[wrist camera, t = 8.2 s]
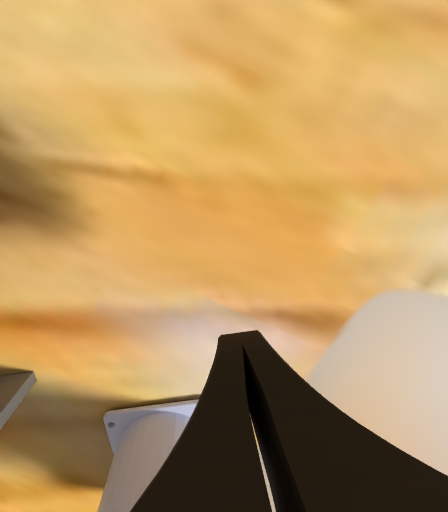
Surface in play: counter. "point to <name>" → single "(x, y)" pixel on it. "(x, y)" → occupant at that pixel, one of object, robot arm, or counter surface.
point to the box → (13, 392)
